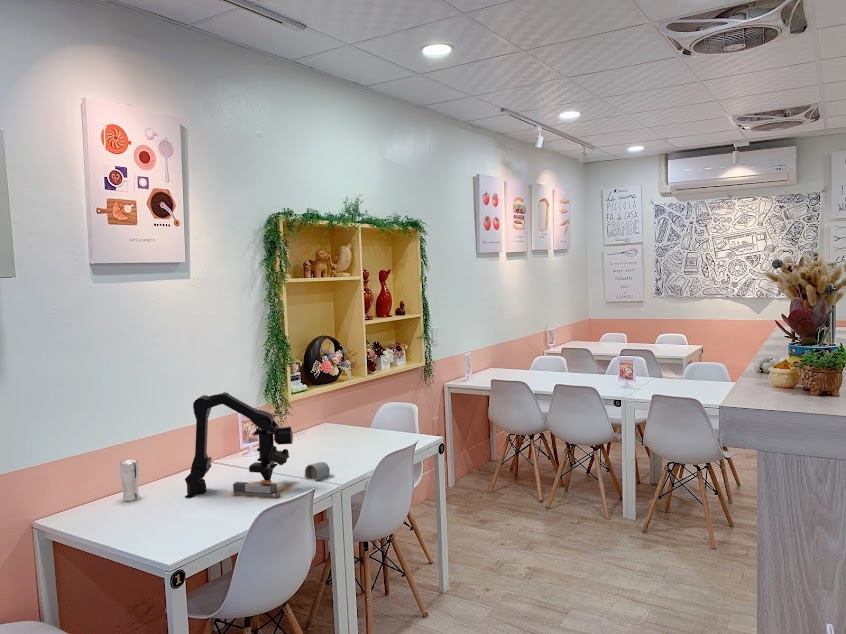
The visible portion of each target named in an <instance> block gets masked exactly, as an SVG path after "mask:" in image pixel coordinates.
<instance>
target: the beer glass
mask: <svg viewBox="0 0 846 634" xmlns="http://www.w3.org/2000/svg"><path fill="white" fill-rule="evenodd" d="M119 477H120V481H121V485H122V488H123V489H122V490H123V494H122V495H123V497H122V501H124V502H127V503H128V502H134V501H137V500H139V499H140V493H139V481H140V465H139V460H138V459H135V458H134V459H132V458H131V459H127V460H125V459H124V460H122V461H120V462H119Z"/></svg>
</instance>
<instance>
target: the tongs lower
mask: <svg viewBox="0 0 846 634" xmlns="http://www.w3.org/2000/svg"><path fill="white" fill-rule="evenodd" d="M232 492H233V491H232ZM233 493H234V495H236V496H251V497H265V498H272V499H271V500H274V499H276V498H279V497H280V492H277V484H273V492H272V493H258V492H238V491H234V492H233ZM280 498H281V497H280ZM280 498H279V499H280Z"/></svg>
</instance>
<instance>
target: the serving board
mask: <svg viewBox="0 0 846 634" xmlns="http://www.w3.org/2000/svg"><path fill="white" fill-rule="evenodd" d="M247 482H248V483H258V482H259V481H254V480H249V481H247ZM271 484H277V492H280V497H279V498H276V499H272V498H265V497H251V496H236V495H234V493H233V492H234V491H231V492H230V493H228V494H227V495H226V497H231V498H232V497H233V498H247V499H263V500H273V501H274V500H279V499H280V498H282V497H283V496H284V495H285V494H287V493H288V492H289V491H291V490H292V489H294V487H296V486H298V483H285V482H272V481H271Z"/></svg>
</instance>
